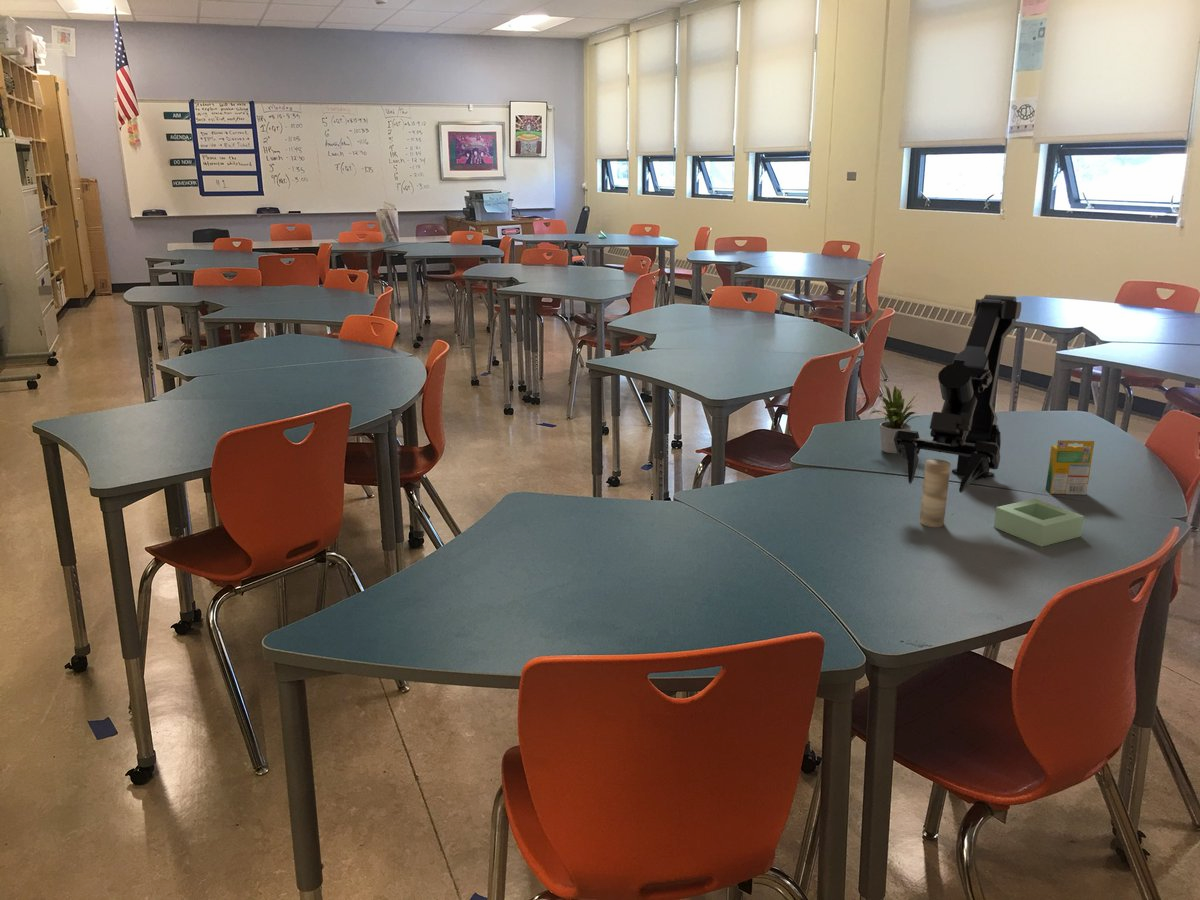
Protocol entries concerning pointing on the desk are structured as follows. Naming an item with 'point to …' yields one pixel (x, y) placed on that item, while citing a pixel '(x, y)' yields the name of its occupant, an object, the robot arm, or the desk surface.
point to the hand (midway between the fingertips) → (934, 487)
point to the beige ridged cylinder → (934, 493)
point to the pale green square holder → (1038, 522)
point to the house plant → (893, 418)
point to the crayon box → (1069, 467)
